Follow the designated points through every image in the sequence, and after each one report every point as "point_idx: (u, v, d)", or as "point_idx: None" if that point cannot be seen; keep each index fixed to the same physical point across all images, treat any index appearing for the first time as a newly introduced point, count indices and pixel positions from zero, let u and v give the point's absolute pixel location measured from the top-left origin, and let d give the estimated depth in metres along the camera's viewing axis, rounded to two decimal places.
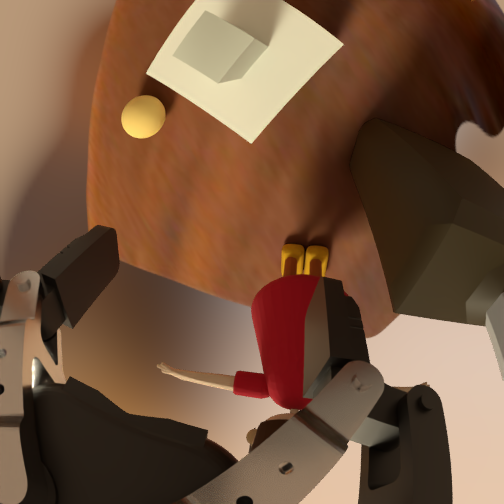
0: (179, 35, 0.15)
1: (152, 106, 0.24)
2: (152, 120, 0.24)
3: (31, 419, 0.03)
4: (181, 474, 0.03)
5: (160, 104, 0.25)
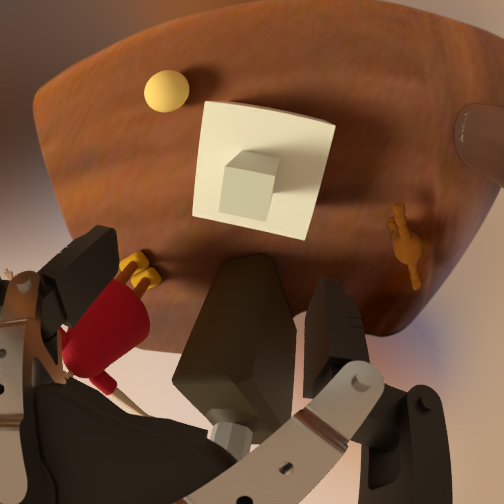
0: (252, 116, 0.20)
1: (179, 98, 0.24)
2: (166, 106, 0.25)
3: (31, 419, 0.03)
4: (181, 474, 0.03)
5: (184, 100, 0.26)
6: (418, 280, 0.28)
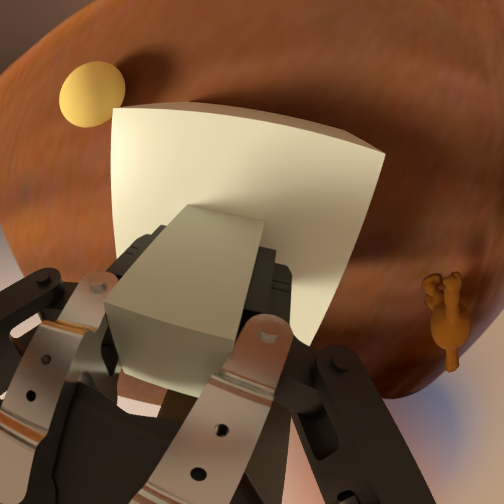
0: (203, 132, 0.09)
1: (104, 104, 0.14)
2: (87, 119, 0.14)
3: (55, 436, 0.03)
4: None
5: (116, 106, 0.15)
6: (455, 362, 0.18)
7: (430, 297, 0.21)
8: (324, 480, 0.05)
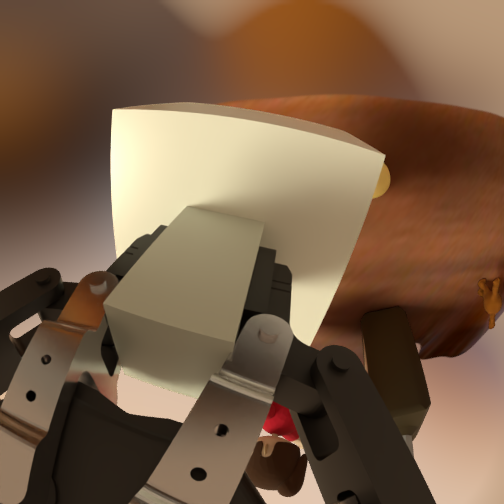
0: (203, 134, 0.09)
1: (385, 191, 0.29)
2: (375, 196, 0.29)
3: (56, 437, 0.03)
4: None
5: None
6: (493, 323, 0.32)
7: (481, 290, 0.36)
8: (324, 480, 0.05)
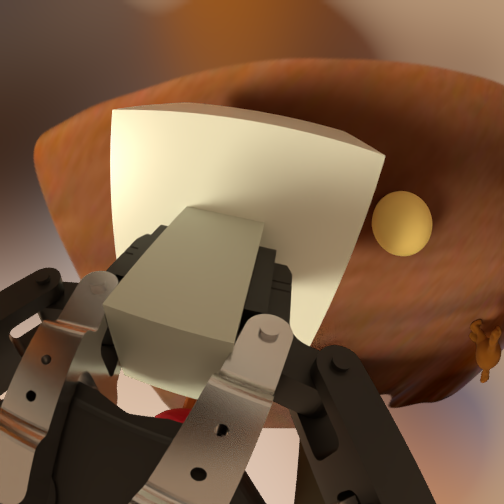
0: (203, 134, 0.09)
1: (375, 228, 0.19)
2: None
3: (56, 436, 0.03)
4: None
5: (386, 240, 0.18)
6: (487, 376, 0.23)
7: (473, 334, 0.26)
8: (324, 480, 0.05)
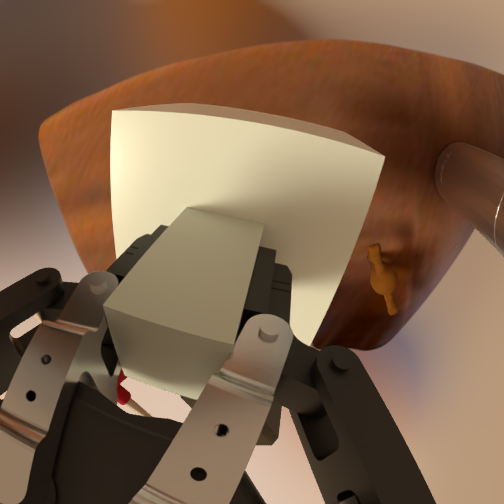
0: (203, 135, 0.09)
1: None
2: None
3: (56, 437, 0.03)
4: None
5: None
6: (393, 307, 0.33)
7: None
8: (324, 480, 0.05)
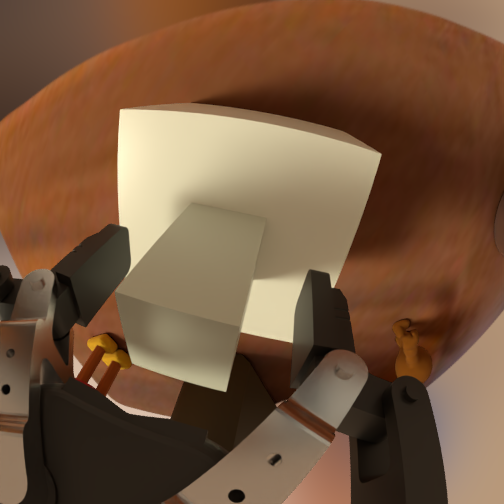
0: (208, 133, 0.10)
1: None
2: None
3: (36, 422, 0.03)
4: (181, 474, 0.03)
5: None
6: None
7: None
8: (359, 502, 0.04)
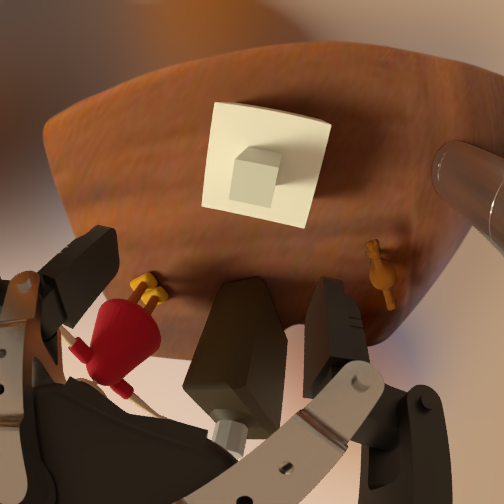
0: (257, 116, 0.22)
1: None
2: None
3: (31, 419, 0.03)
4: (181, 474, 0.03)
5: None
6: (392, 302, 0.34)
7: None
8: None
